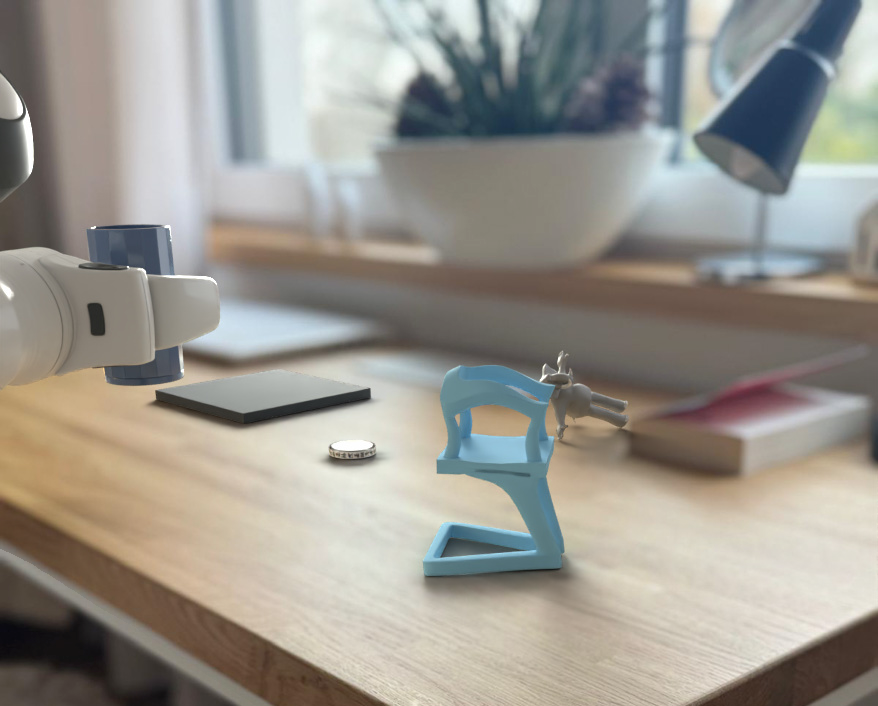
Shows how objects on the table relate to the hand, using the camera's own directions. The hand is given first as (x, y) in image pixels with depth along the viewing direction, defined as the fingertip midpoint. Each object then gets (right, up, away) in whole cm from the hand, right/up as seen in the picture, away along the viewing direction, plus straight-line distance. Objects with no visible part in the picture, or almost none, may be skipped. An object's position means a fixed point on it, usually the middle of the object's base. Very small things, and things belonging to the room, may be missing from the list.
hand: (141, 290), depth 88 cm
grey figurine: (+37, -10, +12) cm, 40 cm away
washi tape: (+17, -13, +4) cm, 22 cm away
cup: (0, -7, +2) cm, 7 cm away
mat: (+6, -4, +25) cm, 26 cm away
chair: (+28, -22, -20) cm, 41 cm away
